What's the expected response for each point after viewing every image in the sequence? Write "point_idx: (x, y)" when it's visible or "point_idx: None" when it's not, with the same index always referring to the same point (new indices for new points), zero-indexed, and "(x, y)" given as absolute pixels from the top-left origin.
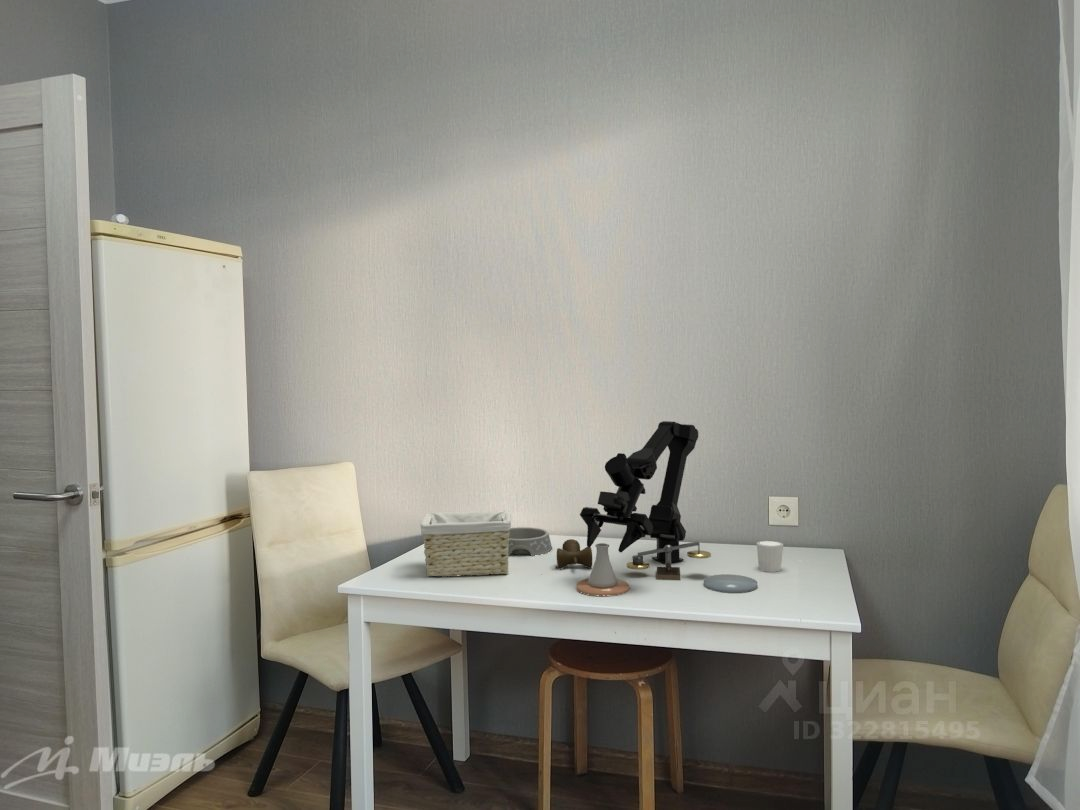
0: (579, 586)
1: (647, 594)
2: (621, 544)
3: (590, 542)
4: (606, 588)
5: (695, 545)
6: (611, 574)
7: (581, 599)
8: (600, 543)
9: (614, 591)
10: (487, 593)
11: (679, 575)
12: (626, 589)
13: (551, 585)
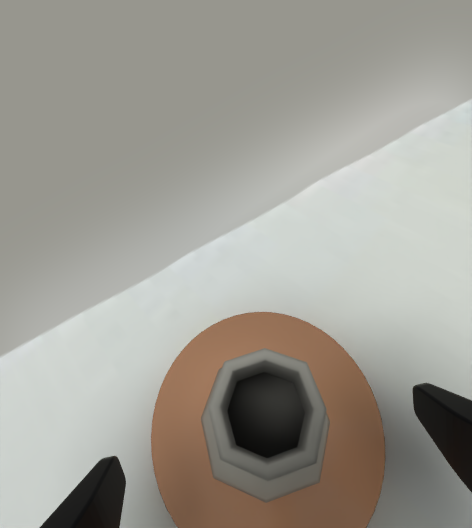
0: (304, 329)
1: None
2: (73, 505)
3: (443, 427)
4: None
5: None
6: (212, 431)
7: (224, 276)
8: (315, 434)
9: (165, 381)
10: (428, 150)
11: None
12: (154, 458)
13: (417, 305)
